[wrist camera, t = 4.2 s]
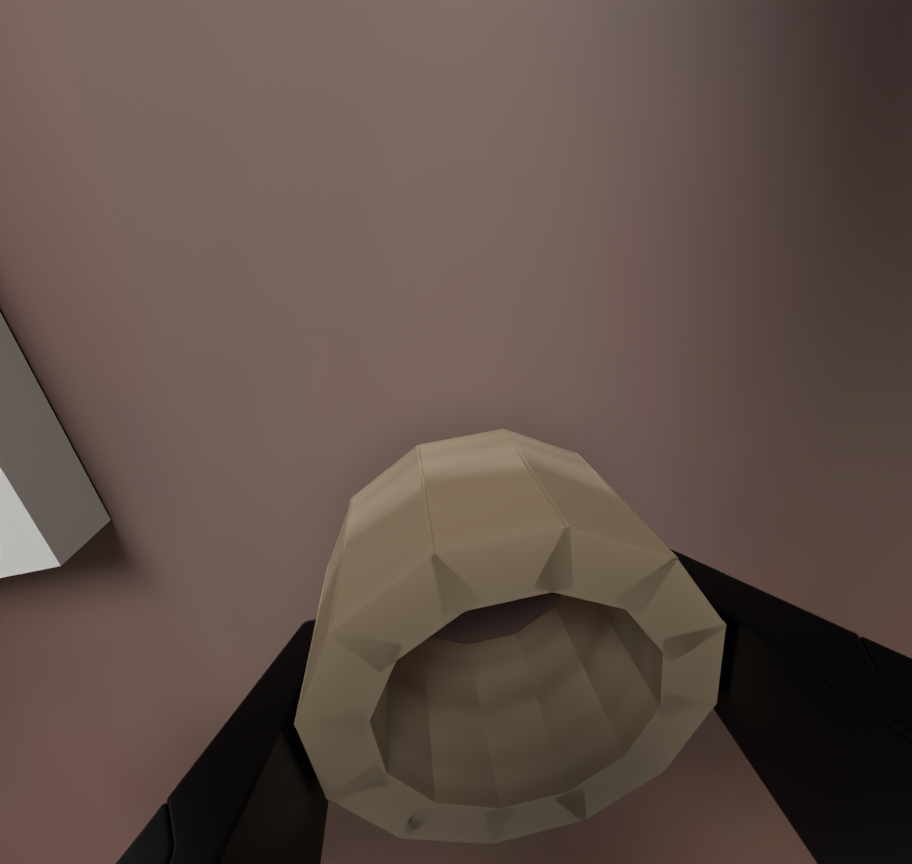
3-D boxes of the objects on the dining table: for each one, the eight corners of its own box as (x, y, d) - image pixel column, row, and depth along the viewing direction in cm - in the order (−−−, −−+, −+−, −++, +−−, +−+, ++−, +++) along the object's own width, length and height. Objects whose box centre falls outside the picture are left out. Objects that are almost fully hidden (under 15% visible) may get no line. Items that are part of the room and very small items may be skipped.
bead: (617, 406, 9) (743, 489, 6) (618, 640, 11) (706, 789, 8) (295, 467, 8) (237, 594, 5) (369, 697, 11) (360, 878, 8)
